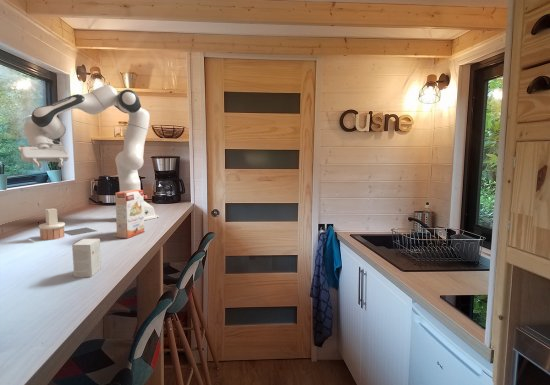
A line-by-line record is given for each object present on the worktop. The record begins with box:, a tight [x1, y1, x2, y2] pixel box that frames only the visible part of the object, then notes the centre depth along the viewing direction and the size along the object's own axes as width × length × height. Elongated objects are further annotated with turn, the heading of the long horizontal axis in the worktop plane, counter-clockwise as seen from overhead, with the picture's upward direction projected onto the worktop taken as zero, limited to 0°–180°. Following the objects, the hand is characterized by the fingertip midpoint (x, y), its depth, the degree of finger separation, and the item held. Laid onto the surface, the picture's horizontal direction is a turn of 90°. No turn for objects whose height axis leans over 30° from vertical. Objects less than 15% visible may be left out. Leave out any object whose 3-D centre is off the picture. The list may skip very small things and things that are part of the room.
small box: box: [71, 238, 102, 278], centre depth 116 cm, size 8×6×10 cm
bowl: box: [39, 227, 66, 241], centre depth 160 cm, size 9×9×5 cm
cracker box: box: [115, 189, 145, 239], centre depth 167 cm, size 14×6×21 cm, turn 168°
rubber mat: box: [64, 227, 98, 236], centre depth 172 cm, size 12×12×1 cm
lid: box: [38, 208, 66, 230], centre depth 159 cm, size 10×10×8 cm
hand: (50, 166), depth 174 cm, fingers open, 8 cm apart
